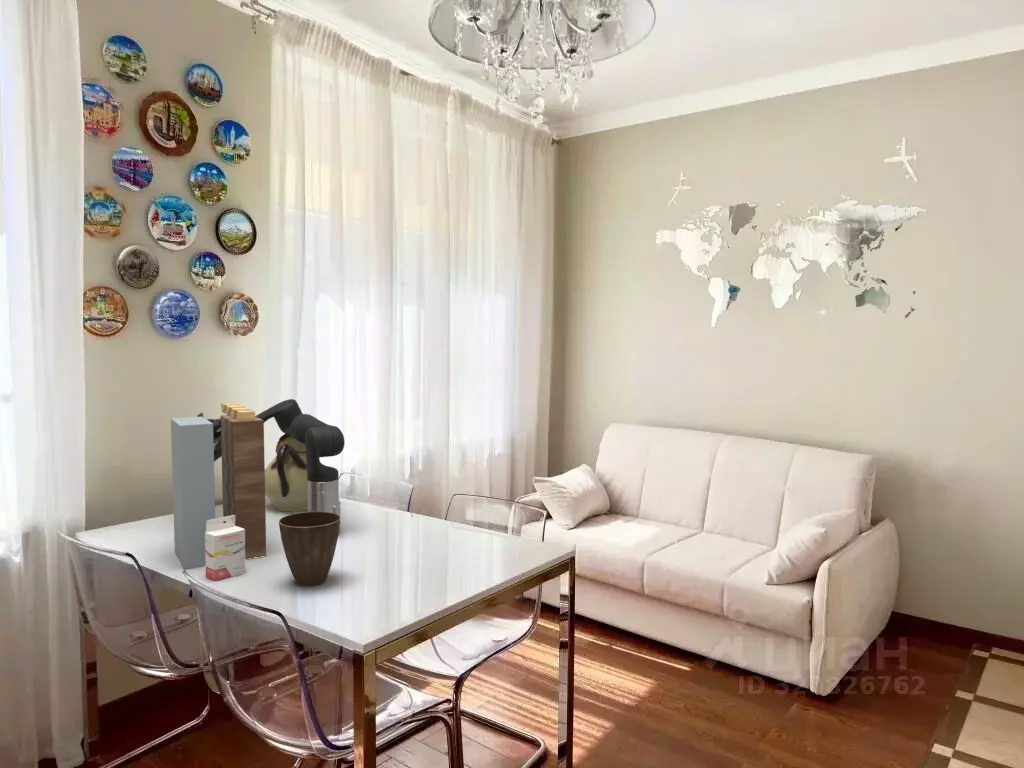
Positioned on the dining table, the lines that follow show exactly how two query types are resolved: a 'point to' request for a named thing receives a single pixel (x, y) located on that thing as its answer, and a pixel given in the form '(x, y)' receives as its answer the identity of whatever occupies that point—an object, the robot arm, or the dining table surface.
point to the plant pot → (309, 545)
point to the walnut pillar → (245, 480)
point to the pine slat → (238, 411)
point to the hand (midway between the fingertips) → (216, 414)
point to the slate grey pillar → (192, 487)
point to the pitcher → (288, 475)
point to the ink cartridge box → (224, 548)
